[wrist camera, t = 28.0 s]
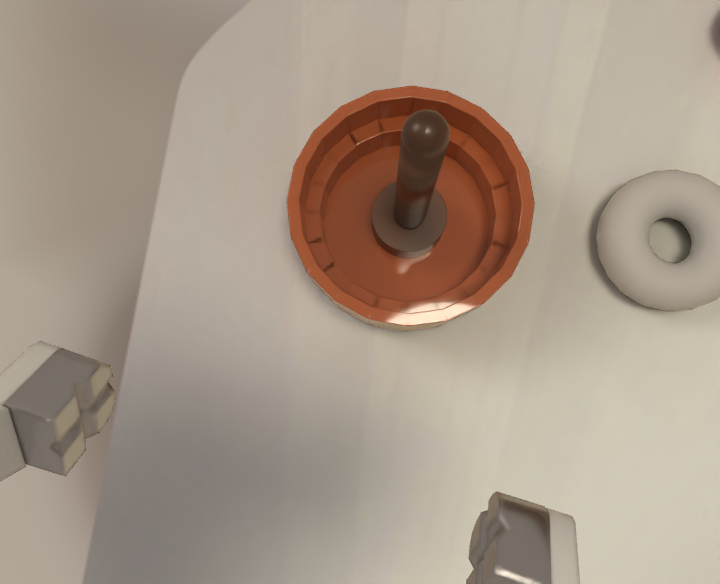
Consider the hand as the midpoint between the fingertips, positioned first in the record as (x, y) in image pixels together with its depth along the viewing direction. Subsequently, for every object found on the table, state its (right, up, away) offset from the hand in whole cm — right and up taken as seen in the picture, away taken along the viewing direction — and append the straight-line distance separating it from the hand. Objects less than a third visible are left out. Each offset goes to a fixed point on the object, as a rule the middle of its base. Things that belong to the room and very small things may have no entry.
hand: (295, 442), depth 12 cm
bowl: (+5, +8, +30) cm, 32 cm away
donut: (+23, +6, +30) cm, 38 cm away
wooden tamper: (+5, +8, +30) cm, 31 cm away
